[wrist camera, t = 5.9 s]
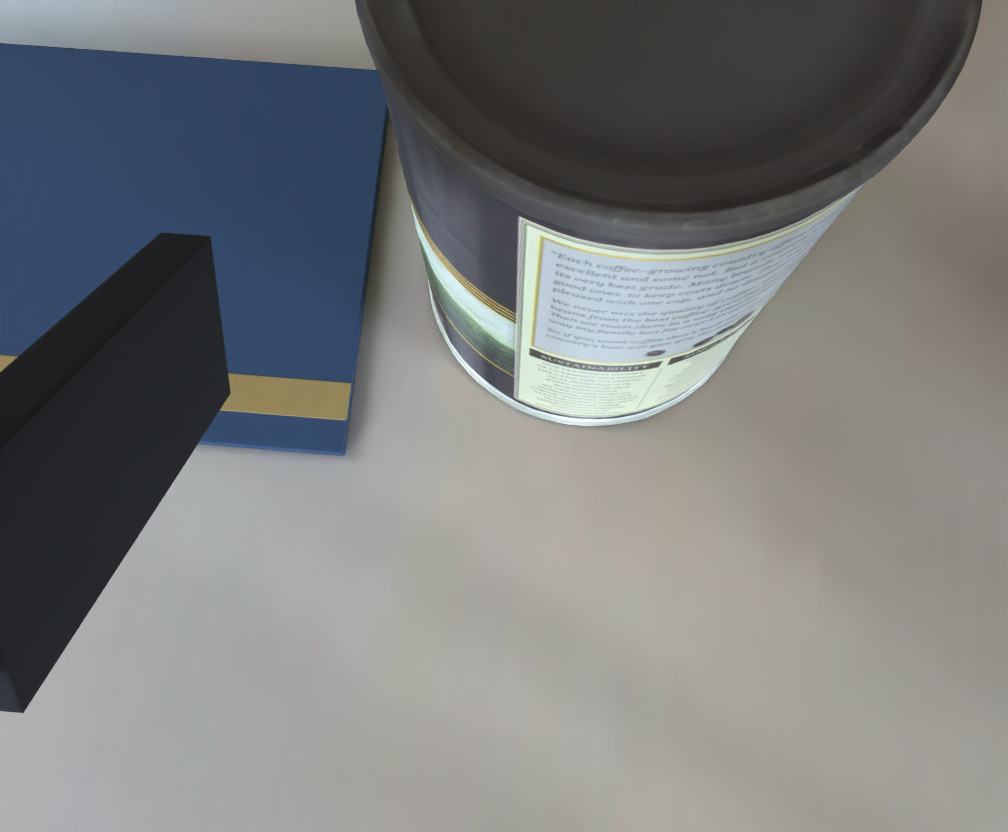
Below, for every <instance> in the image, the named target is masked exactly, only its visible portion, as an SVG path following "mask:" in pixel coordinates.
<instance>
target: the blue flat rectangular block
mask: <svg viewBox="0 0 1008 832" xmlns="http://www.w3.org/2000/svg"><path fill="white" fill-rule="evenodd" d="M388 112H389V111H388V107H387V103H386V99H385V94H384V90H383V85H382V80H381V77H380V75H379V73H378V70H366V69H352V68H338V67H324V66H310V65H296V64H282V63H268V62H254V61H240V60H226V59H212V58H198V57H184V56H170V55H157V54H143V53H129V52H115V51H101V50H87V49H73V48H59V47H45V46H31V45H17V44H3V43H0V372H1V371H2V370H3V369H4V368H6V367H7V366H8V365H9V364H10V363H11V362H12V361H14V360H15V359H16V358H17V357H18V356H19V355H20V354H22V353H23V352H24V351H25V350H26V349H27V348H28V347H30V346H31V345H32V344H33V343H34V342H35V341H37V340H38V339H39V338H40V337H41V336H42V335H43V334H45V333H46V332H47V331H48V330H49V329H50V328H51V327H53V326H54V325H55V324H56V323H57V322H58V321H59V320H61V319H62V318H63V317H64V316H65V315H66V314H68V313H69V312H70V311H71V310H72V309H73V308H74V307H76V306H77V305H78V304H79V303H80V302H81V301H82V300H84V299H85V298H86V297H87V296H88V295H89V294H90V293H92V292H93V291H94V290H95V289H96V288H97V287H99V286H100V285H101V284H102V283H103V282H104V281H105V280H107V279H108V278H109V277H110V276H111V275H112V274H113V273H115V272H116V271H117V270H118V269H119V268H120V267H121V266H123V265H124V264H125V263H126V262H127V261H128V260H130V259H131V258H132V257H133V256H134V255H135V254H136V253H138V252H139V251H140V250H141V249H142V248H143V247H144V246H146V245H147V244H148V243H149V242H150V241H151V240H152V239H154V238H155V237H156V236H157V235H158V234H159V233H161V232H163V233H177V234H191V235H205V236H211V243H212V250H213V258H214V266H215V274H216V282H217V289H218V297H219V305H220V313H221V321H222V329H223V336H224V344H225V352H226V360H227V368H228V375H229V383H230V391H231V394H230V395H229V397H228V398H227V400H226V401H225V403H224V404H223V406H222V408H221V409H220V411H219V412H218V414H217V415H216V417H215V418H214V420H213V421H212V423H211V424H210V426H209V428H208V429H207V431H206V432H205V434H204V435H203V437H202V438H201V440H200V441H199V443H198V444H207V445H220V446H232V447H244V448H256V449H268V450H280V451H292V452H304V453H317V454H329V455H341V456H343V455H344V453H345V446H346V438H347V430H348V422H349V415H350V407H351V399H352V391H353V384H354V376H355V368H356V360H357V353H358V345H359V337H360V329H361V322H362V314H363V306H364V298H365V291H366V283H367V275H368V267H369V260H370V252H371V244H372V236H373V229H374V221H375V213H376V205H377V198H378V190H379V182H380V174H381V167H382V159H383V151H384V143H385V136H386V128H387V120H388Z"/></svg>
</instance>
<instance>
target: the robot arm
mask: <svg viewBox="0 0 1008 832" xmlns="http://www.w3.org/2000/svg"><path fill="white" fill-rule="evenodd" d="M230 394H231V391H230V383H229V375H228V368H227V360H226V352H225V344H224V336H223V329H222V321H221V313H220V305H219V297H218V289H217V282H216V274H215V266H214V258H213V250H212V243H211V236H205V235H191V234H177V233H163V232H161V233H159V234H158V235H157V236H156V237H155V238H154V239H152V240H151V241H150V242H149V243H148V244H147V245H146V246H144V247H143V248H142V249H141V250H140V251H139V252H138V253H136V254H135V255H134V256H133V257H132V258H131V259H130V260H128V261H127V262H126V263H125V264H124V265H123V266H121V267H120V268H119V269H118V270H117V271H116V272H115V273H113V274H112V275H111V276H110V277H109V278H108V279H107V280H105V281H104V282H103V283H102V284H101V285H100V286H99V287H97V288H96V289H95V290H94V291H93V292H92V293H90V294H89V295H88V296H87V297H86V298H85V299H84V300H82V301H81V302H80V303H79V304H78V305H77V306H76V307H74V308H73V309H72V310H71V311H70V312H69V313H68V314H66V315H65V316H64V317H63V318H62V319H61V320H59V321H58V322H57V323H56V324H55V325H54V326H53V327H51V328H50V329H49V330H48V331H47V332H46V333H45V334H43V335H42V336H41V337H40V338H39V339H38V340H37V341H35V342H34V343H33V344H32V345H31V346H30V347H28V348H27V349H26V350H25V351H24V352H23V353H22V354H20V355H19V356H18V357H17V358H16V359H15V360H14V361H12V362H11V363H10V364H9V365H8V366H7V367H6V368H4V369H3V370H2V371H1V372H0V711H7V712H19V713H23V712H24V711H25V709H26V708H27V706H28V705H29V703H30V702H31V700H32V699H33V697H34V695H35V694H36V692H37V691H38V689H39V688H40V686H41V685H42V683H43V682H44V680H45V679H46V677H47V675H48V674H49V672H50V671H51V669H52V668H53V666H54V665H55V663H56V662H57V660H58V659H59V657H60V655H61V654H62V652H63V651H64V649H65V648H66V646H67V645H68V643H69V642H70V640H71V638H72V637H73V635H74V634H75V632H76V631H77V629H78V628H79V626H80V625H81V623H82V622H83V620H84V618H85V617H86V615H87V614H88V612H89V611H90V609H91V608H92V606H93V605H94V603H95V602H96V600H97V598H98V597H99V595H100V594H101V592H102V591H103V589H104V588H105V586H106V585H107V583H108V582H109V580H110V578H111V577H112V575H113V574H114V572H115V571H116V569H117V568H118V566H119V565H120V563H121V562H122V560H123V558H124V557H125V555H126V554H127V552H128V551H129V549H130V548H131V546H132V545H133V543H134V542H135V540H136V538H137V537H138V535H139V534H140V532H141V531H142V529H143V528H144V526H145V525H146V523H147V521H148V520H149V518H150V517H151V515H152V514H153V512H154V511H155V509H156V508H157V506H158V505H159V503H160V501H161V500H162V498H163V497H164V495H165V494H166V492H167V491H168V489H169V488H170V486H171V485H172V483H173V481H174V480H175V478H176V477H177V475H178V474H179V472H180V471H181V469H182V468H183V466H184V465H185V463H186V461H187V460H188V458H189V457H190V455H191V454H192V452H193V451H194V449H195V448H196V446H197V445H198V443H199V441H200V440H201V438H202V437H203V435H204V434H205V432H206V431H207V429H208V428H209V426H210V424H211V423H212V421H213V420H214V418H215V417H216V415H217V414H218V412H219V411H220V409H221V408H222V406H223V404H224V403H225V401H226V400H227V398H228V397H229V395H230Z"/></svg>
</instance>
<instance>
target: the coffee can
mask: <svg viewBox="0 0 1008 832" xmlns="http://www.w3.org/2000/svg"><path fill="white" fill-rule="evenodd" d="M355 3H356V8H357V14H358V17H359V21H360V24H361V27H362V30H363V34H364V37H365V40H366V44H367V46H368V48H369V51H370V53H371V56H372V58H373V61H374V63H375V65H376V68H377V70H378V73H379V75H380V77H381V80H382V85H383V90H384V94H385V99H386V103H387V107H388V111H389V114H390V118H391V121H392V126H393V131H394V137H395V139H396V142H397V147H398V152H399V156H400V160H401V164H402V168H403V173H404V177H405V181H406V185H407V189H408V193H409V197H410V201H411V206H412V211H413V215H414V221H415V226H416V230H417V233H418V236H419V240H420V245H421V249H422V254H423V258H424V261H425V266H426V271H427V275H428V283H429V293H430V299H431V304H432V308H433V312H434V316H435V318H436V321H437V324H438V326H439V329H440V331H441V333H442V335H443V337H444V339H445V341H446V343H447V344H448V346H449V348H450V350H451V351H452V353H453V355H454V356H455V357H456V359H457V360H458V361H459V362H460V364H461V365H462V366H463V367H464V368H465V369H466V371H467V372H468V373H469V374H470V375H471V376H472V377H473V378H474V379H475V380H476V381H477V382H478V383H479V384H481V385H482V386H483V387H484V388H486V389H487V390H488V391H489V392H491V393H492V394H493V395H495V396H496V397H498V398H499V399H501V400H502V401H504V402H505V403H507V404H509V405H511V406H512V407H514V408H516V409H518V410H520V411H522V412H525V413H527V414H529V415H532V416H535V417H539V418H542V419H545V420H549V421H553V422H557V423H563V424H569V425H580V426H602V425H614V424H621V423H626V422H631V421H635V420H640V419H644V418H647V417H649V416H652V415H654V414H657V413H659V412H661V411H663V410H664V409H666V408H668V407H670V406H672V405H675V404H676V403H678V402H680V401H681V400H683V399H684V398H686V397H687V396H688V395H690V394H691V393H692V392H694V391H695V390H696V389H697V388H699V387H700V386H701V385H703V384H704V383H705V382H706V381H707V380H708V379H709V378H710V376H711V375H712V374H713V373H714V372H715V371H716V370H717V368H718V367H719V366H720V365H721V363H722V362H723V361H724V359H725V358H726V356H727V355H728V353H729V352H730V350H731V348H732V347H733V345H734V343H735V342H736V341H737V339H738V338H739V337H740V336H741V334H742V333H743V332H744V331H745V330H746V328H747V327H748V326H749V325H750V323H751V322H752V321H753V320H754V319H755V317H756V316H757V315H758V314H759V312H760V311H761V310H762V309H763V307H764V306H765V305H766V304H767V303H768V302H769V301H770V300H771V298H772V297H773V296H774V295H775V293H776V292H777V291H778V289H779V288H780V287H781V286H782V284H783V283H784V282H785V281H786V279H787V278H788V277H789V276H790V275H791V273H792V272H793V271H794V270H795V268H796V267H797V266H798V265H799V263H800V262H801V261H802V260H803V259H804V257H805V256H806V255H807V254H808V252H809V251H810V250H811V249H812V247H813V246H814V245H815V244H816V243H817V241H818V240H819V239H820V238H821V236H822V235H823V234H824V233H825V232H826V230H827V229H828V228H829V227H830V226H831V224H832V223H833V222H834V221H835V220H836V218H837V217H838V216H839V215H840V214H841V212H842V211H843V210H844V209H845V208H846V206H847V205H848V204H849V203H850V201H851V200H852V199H853V198H854V197H855V195H856V194H857V193H858V192H859V191H860V189H861V188H862V187H863V186H864V185H865V183H866V182H867V181H868V180H869V179H870V178H872V177H873V176H874V175H876V174H877V173H878V172H880V171H881V170H882V169H883V168H884V167H885V166H886V165H887V164H888V163H889V162H890V161H891V160H892V159H893V158H894V157H896V156H897V155H898V154H899V153H900V152H901V151H902V150H903V149H904V148H905V147H906V146H907V144H908V143H909V142H910V141H911V140H912V139H913V138H914V137H915V136H916V135H917V134H918V133H919V132H920V130H921V129H922V128H923V127H924V126H925V125H926V123H927V122H928V121H929V120H930V118H931V117H932V116H933V115H934V113H935V112H936V110H937V109H938V107H939V106H940V104H941V103H942V102H943V100H944V99H945V97H946V96H947V94H948V93H949V91H950V90H951V88H952V87H953V85H954V83H955V81H956V79H957V77H958V75H959V74H960V72H961V70H962V68H963V66H964V64H965V61H966V59H967V57H968V54H969V51H970V49H971V46H972V43H973V40H974V37H975V34H976V30H977V27H978V23H979V18H980V13H981V6H982V0H355Z"/></svg>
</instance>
